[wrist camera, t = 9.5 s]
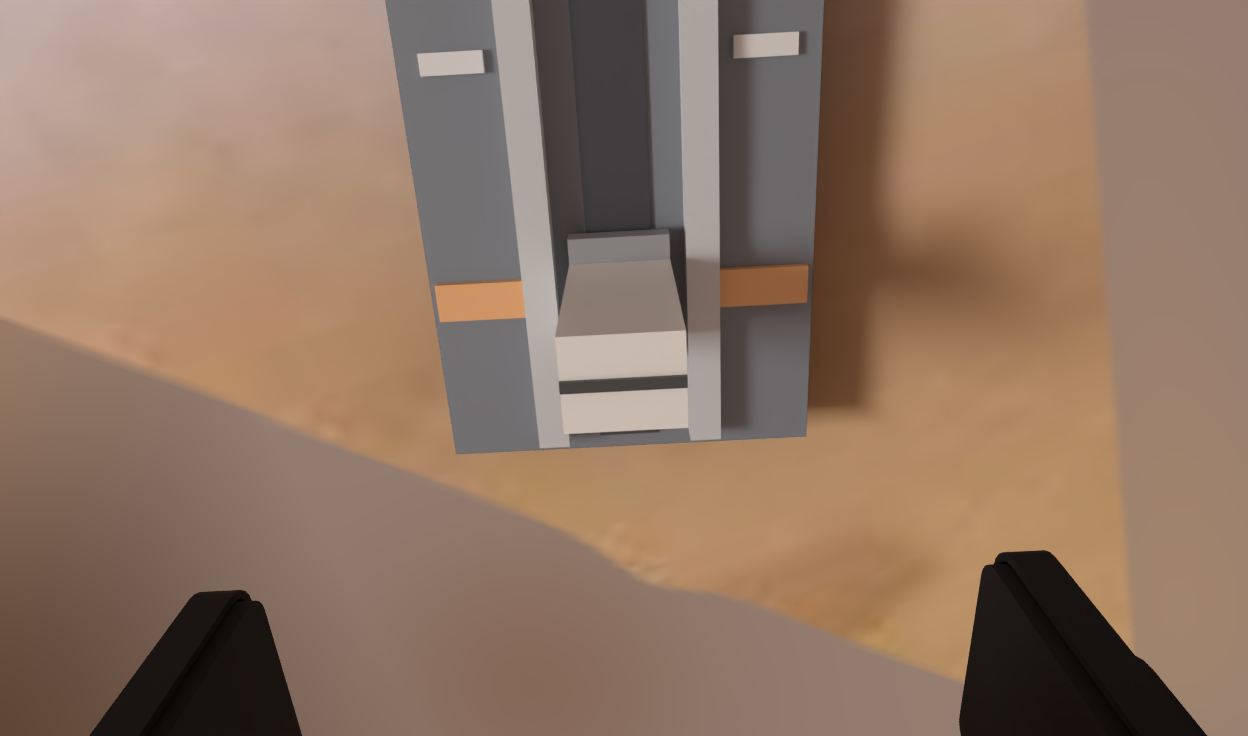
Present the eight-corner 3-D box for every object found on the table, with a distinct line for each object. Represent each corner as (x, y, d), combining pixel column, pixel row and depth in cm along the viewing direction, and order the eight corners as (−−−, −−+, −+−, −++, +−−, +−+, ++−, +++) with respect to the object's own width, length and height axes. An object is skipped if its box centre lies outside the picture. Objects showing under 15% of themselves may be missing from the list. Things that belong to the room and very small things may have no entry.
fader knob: (568, 233, 24) (551, 307, 18) (667, 228, 24) (685, 300, 18) (578, 356, 26) (566, 463, 19) (672, 351, 26) (689, 456, 19)
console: (346, -381, 20) (307, -439, 18) (821, -412, 20) (852, -476, 18) (466, 427, 29) (451, 466, 27) (794, 410, 29) (811, 447, 27)
